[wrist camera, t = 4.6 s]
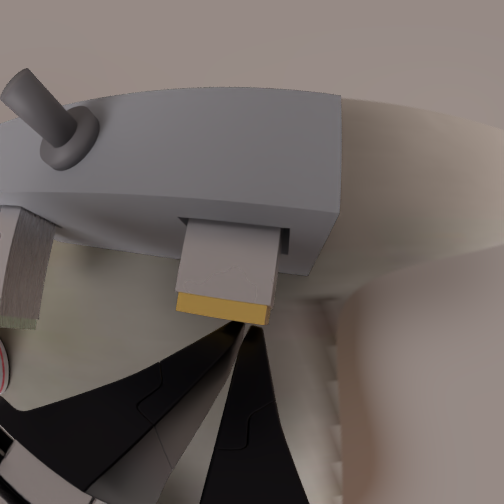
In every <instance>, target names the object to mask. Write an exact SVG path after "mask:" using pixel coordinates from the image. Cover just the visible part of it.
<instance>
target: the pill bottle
mask: <svg viewBox="0 0 504 504" xmlns="http://www.w3.org/2000/svg"><path fill="white" fill-rule="evenodd" d="M8 379H9V366H8V358H7V354H6V351H5V348H4V346H3V343H2V342H1V340H0V394H2V393H3V392H4V391H5V390H6V388H7V385H8Z"/></svg>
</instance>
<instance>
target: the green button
mask: <svg viewBox="0 0 504 504" xmlns="http://www.w3.org/2000/svg"><path fill="white" fill-rule="evenodd" d="M56 228H57V225H56V224H54V223H52V222H50V221H49V220H47V219H45V218H43V217H41V216H39V215H37V214H35V213H33V212H31V211H29V210H27V209H26V208H24V207H22V206H16V205H0V327H3V328H16V329H32V330H35V328H36V319H38V320H39V314H40V306H41V299H42V293H43V287H44V281H45V276H46V271H47V266H48V261H49V256H50V252H51V248H52V243H53V239H54V235H55V232H56Z"/></svg>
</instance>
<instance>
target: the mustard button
mask: <svg viewBox="0 0 504 504" xmlns="http://www.w3.org/2000/svg"><path fill="white" fill-rule="evenodd" d="M283 232H284V228H281V227H273V226H264V225H255V224H245V223H236V222H226V221H216V220H206V219H196V218H189V220H188V225H187V230H186V234H185V239H184V244H183V249H182V254H181V260H180V265H179V270H178V276H177V281H176V287H175V291H176V292H179V294H178V300H177V306H176V311H181V312H187V313H192V314H198V315H203V316H209V317H215V318H221V319H227V320H233V321H240V322H246V323H253V324H260V325H268V324H269V317H270V310H273V308H274V301H275V294H276V286H277V279H278V271H279V264H280V256H281V248H282V240H283Z"/></svg>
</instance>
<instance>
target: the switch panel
mask: <svg viewBox="0 0 504 504" xmlns="http://www.w3.org/2000/svg"><path fill="white" fill-rule="evenodd" d="M0 99H1V101H2V102H3V103H4V104H5V105H7V106H8V107H9V108H10V109H11V110H12V111H13V112H14V113H15V114H16V115H18V116H19V118H15V119H12V120H10V121H7V122H4V123H1V124H0V205H16V206H22V207H24V208H26V209H27V210H29V211H31V212H33V213H35V214H37V215H39V216H41V217H43V218H45V219H47V220H49V221H50V222H52V223H54V224H56V225H57V228H56V232H55V235H54V239H55V240H57V241H59V242H66V243H72V244H79V245H85V246H92V247H98V248H105V249H111V250H118V251H125V252H132V253H139V254H146V255H153V256H160V257H167V258H174V259H181V254H182V249H183V244H184V239H185V234H186V230H187V225H188V220H189V218H196V219H206V220H216V221H226V222H236V223H245V224H255V225H264V226H273V227H281V228H284V232H283V240H282V248H281V256H280V264H279V271H278V272H280V273H288V274H296V275H304V276H308V274H309V272H310V270H311V269H312V267H313V265H314V263H315V261H316V259H317V257H318V255H319V253H320V251H321V249H322V247H323V245H324V243H325V242H326V240H327V238H328V236H329V234H330V232H331V230H332V228H333V226H334V224H335V222H336V220H337V218H338V216H339V213H340V193H341V154H342V123H341V96H340V95H334V94H326V93H318V92H309V91H299V90H287V89H273V88H250V87H204V88H182V89H167V90H156V91H146V92H137V93H129V94H122V95H115V96H109V97H102V98H98V99H91V100H87V101H81V102H76V103H72V104H67V105H63V106H62V105H61V104H60V103H59V102H58V101H57V100H56V99H55V98H54V96H53V95H52V94H51V93H50V92H49V91H48V90H47V89H46V88H45V87H44V86H43V84H42V83H41V82H40V81H39V80H38V79H37V78H36V77H35V76H34V74H33V73H32V72H31V71H30V70H29V69H28V68H26V69H23V70H22V71H20V72H19V73H17V74H16V75H15V76H14V77H13V78H12V79H11V80H10V81H9V83H8V84H7V85H6V87H5V88H4V90H3V92H2V94H1V97H0Z"/></svg>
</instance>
